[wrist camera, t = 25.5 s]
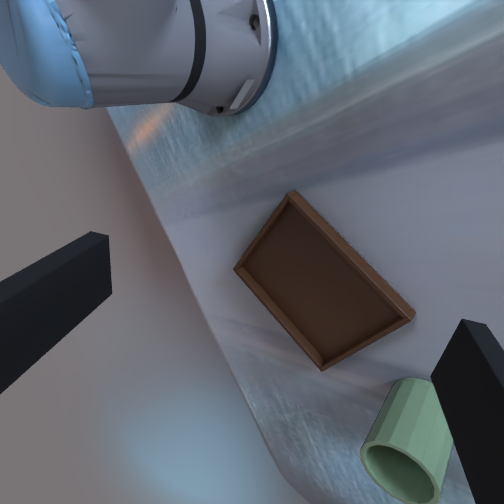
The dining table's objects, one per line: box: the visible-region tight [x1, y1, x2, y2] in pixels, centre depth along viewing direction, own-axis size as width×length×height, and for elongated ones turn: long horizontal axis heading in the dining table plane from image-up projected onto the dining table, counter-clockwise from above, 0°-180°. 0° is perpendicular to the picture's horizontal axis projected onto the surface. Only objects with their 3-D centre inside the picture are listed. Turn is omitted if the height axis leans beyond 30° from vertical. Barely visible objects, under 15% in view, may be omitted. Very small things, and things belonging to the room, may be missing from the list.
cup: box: [360, 377, 454, 504], centre depth 35 cm, size 7×7×10 cm
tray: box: [233, 190, 416, 372], centre depth 42 cm, size 19×16×2 cm
